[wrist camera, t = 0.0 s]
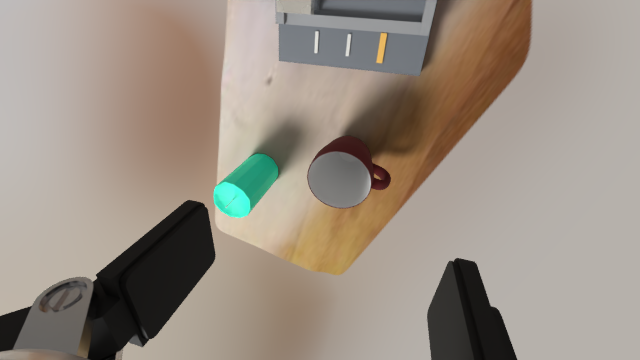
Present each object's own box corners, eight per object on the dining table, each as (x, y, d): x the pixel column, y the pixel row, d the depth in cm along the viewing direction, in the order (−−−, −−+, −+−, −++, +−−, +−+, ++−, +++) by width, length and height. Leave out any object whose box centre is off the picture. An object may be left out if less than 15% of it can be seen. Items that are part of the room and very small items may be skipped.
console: (284, -76, 31) (272, -87, 28) (452, -73, 28) (459, -86, 25) (284, 59, 38) (274, 62, 35) (418, 73, 35) (420, 77, 32)
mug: (401, 136, 39) (402, 167, 30) (384, 183, 43) (381, 221, 35) (330, 118, 40) (312, 142, 32) (320, 166, 44) (302, 198, 36)
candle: (281, 160, 46) (248, 198, 36) (275, 188, 49) (243, 231, 39) (248, 148, 46) (206, 182, 36) (244, 177, 49) (205, 215, 39)
